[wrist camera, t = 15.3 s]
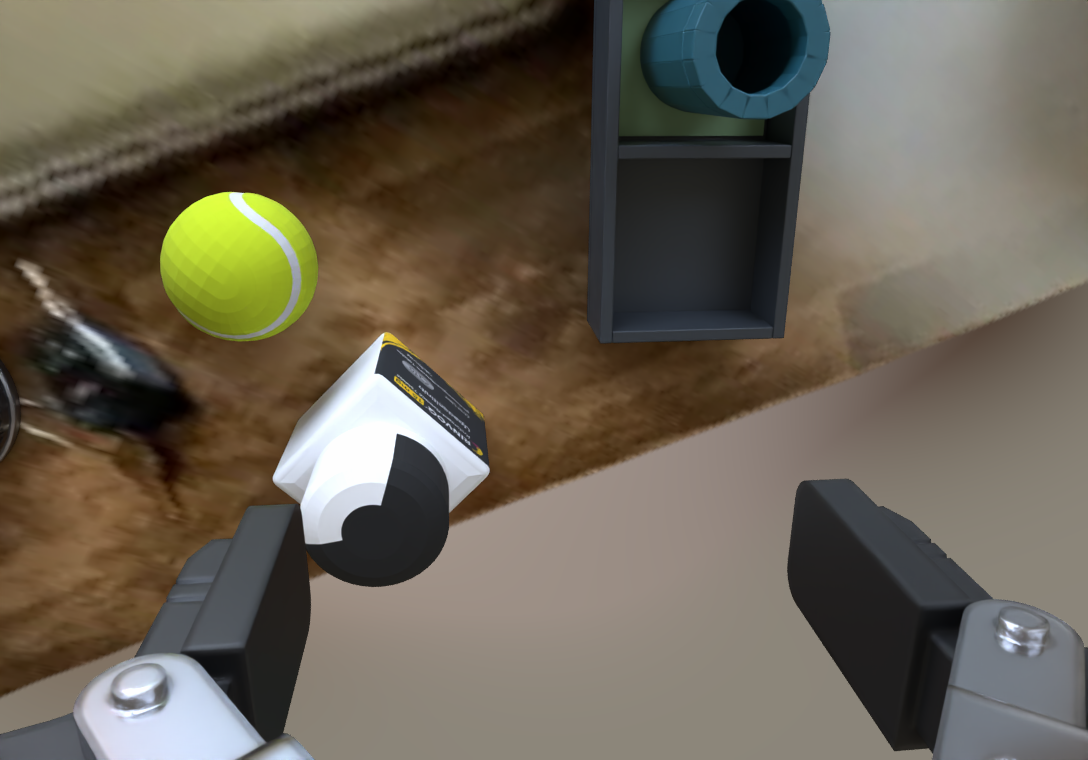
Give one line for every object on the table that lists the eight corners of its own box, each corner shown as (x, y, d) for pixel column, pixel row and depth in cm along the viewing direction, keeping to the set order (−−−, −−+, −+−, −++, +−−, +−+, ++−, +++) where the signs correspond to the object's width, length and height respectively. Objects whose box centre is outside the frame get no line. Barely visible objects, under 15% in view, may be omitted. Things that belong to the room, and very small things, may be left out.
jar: (637, 110, 40) (688, 119, 31) (642, -9, 38) (697, -35, 29) (743, 111, 40) (821, 119, 32) (752, -7, 38) (838, -32, 30)
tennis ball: (353, 237, 41) (336, 266, 35) (281, 344, 42) (252, 389, 36) (231, 154, 39) (189, 168, 33) (159, 268, 40) (106, 303, 34)
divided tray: (586, 321, 44) (599, 343, 40) (595, -58, 38) (611, -73, 34) (756, 317, 45) (784, 338, 41) (790, -54, 39) (827, -68, 35)
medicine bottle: (486, 415, 45) (499, 526, 34) (396, 502, 46) (380, 638, 35) (386, 327, 43) (364, 415, 31) (295, 421, 44) (242, 538, 33)
